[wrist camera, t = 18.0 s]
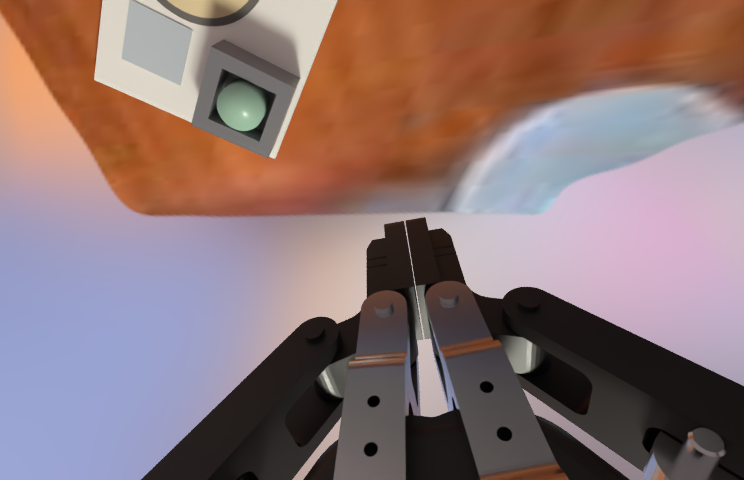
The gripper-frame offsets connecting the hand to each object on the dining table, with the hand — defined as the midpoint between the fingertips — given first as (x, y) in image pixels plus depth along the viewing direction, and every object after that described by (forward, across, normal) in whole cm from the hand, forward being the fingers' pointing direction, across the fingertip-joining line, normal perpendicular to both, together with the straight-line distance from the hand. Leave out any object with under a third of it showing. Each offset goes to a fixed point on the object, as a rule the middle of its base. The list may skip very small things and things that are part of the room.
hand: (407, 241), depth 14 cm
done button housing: (+27, +12, -1) cm, 30 cm away
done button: (+25, +12, -1) cm, 28 cm away
